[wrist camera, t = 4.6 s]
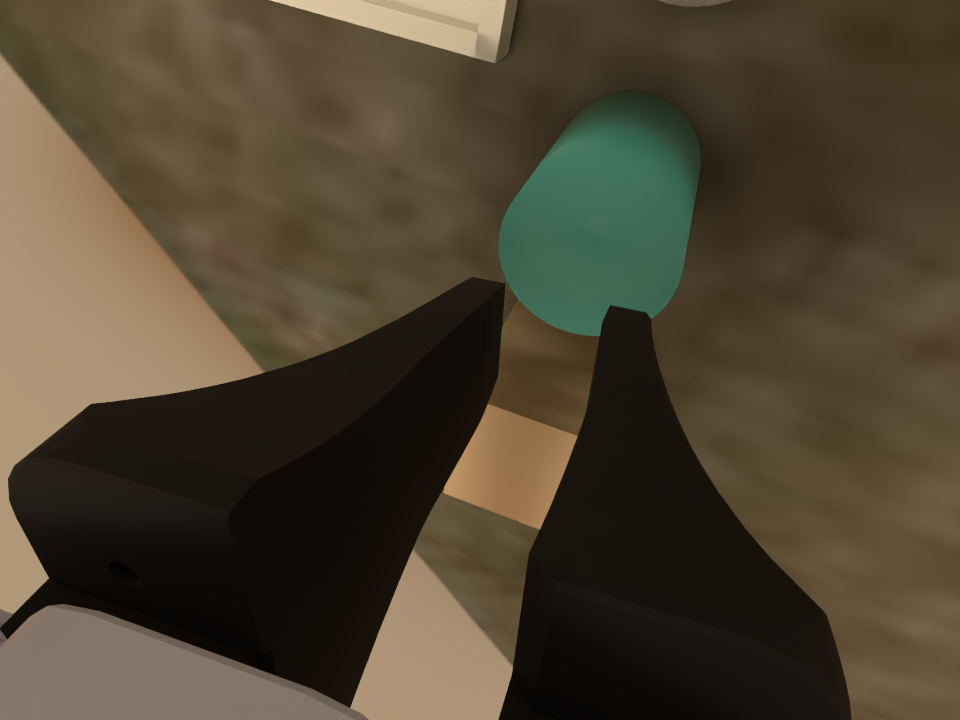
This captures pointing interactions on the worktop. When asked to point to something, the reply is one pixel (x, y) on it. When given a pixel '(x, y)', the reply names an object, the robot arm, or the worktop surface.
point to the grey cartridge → (695, 2)
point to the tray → (430, 21)
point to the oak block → (527, 420)
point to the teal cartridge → (605, 214)
